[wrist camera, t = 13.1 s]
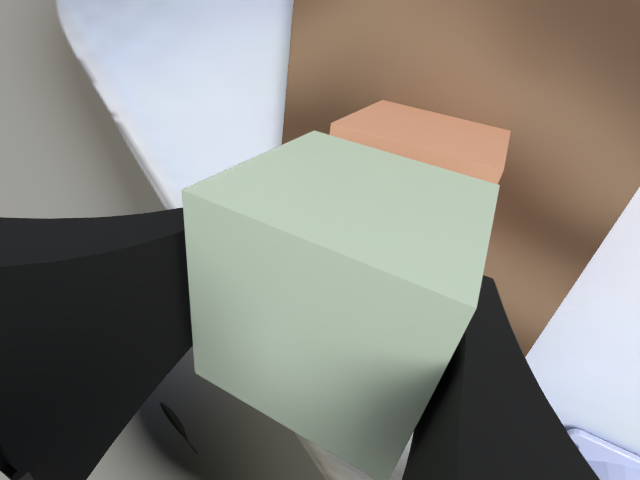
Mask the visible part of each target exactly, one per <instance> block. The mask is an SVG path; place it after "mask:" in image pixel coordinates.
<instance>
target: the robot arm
mask: <svg viewBox="0 0 640 480" xmlns="http://www.w3.org/2000/svg"><path fill="white" fill-rule="evenodd" d="M192 346H193V338H192V324H191V311H190V297H189V283H188V269H187V255H186V241H185V227H184V213H183V208H177V209H171V210H164V211H158V212H151V213H144V214H134V215H125V216H112V217H98V218H60V219H29V218H1V217H0V471H1V472H2V473H4V474H5V475H6V476H7V477H8V478H9V479H10V480H86V479H87V478H88V476H89V475H90V474H91V472H92V471H93V470H94V468H95V467H96V465H97V464H98V463H99V461H100V460H101V458H102V457H103V456H104V454H105V453H106V451H107V450H108V449H109V447H110V446H111V445H112V443H113V442H114V440H115V439H116V438H117V437H118V435H119V434H120V433H121V432H122V430H123V429H124V428H125V426H126V425H127V424H128V422H129V421H130V420H131V419H132V417H133V416H134V415H135V413H136V412H137V411H138V409H139V408H140V407H141V406H142V404H143V403H144V402H145V401H146V399H147V398H148V397H149V396H150V395H151V393H152V392H153V391H154V390H155V388H156V387H157V386H158V385H159V384H160V382H161V381H162V380H163V379H164V378H165V376H166V375H167V374H168V373H169V372H170V371H171V370H172V368H173V367H174V366H175V365H176V363H178V361H179V360H180V359H181V358H182V357H183V356H184V355H185V353H186V352H187V351H188V350H189V349H190V347H192ZM402 480H640V457H639V456H637V455H635V454H633V453H630V452H628V451H626V450H624V449H622V448H620V447H617V446H615V445H613V444H611V443H609V442H606V441H604V440H602V439H600V438H598V437H596V436H593V435H591V434H589V433H587V432H585V431H583V430H580V429H569V430H568V431H566V429H565V428H564V426H563V424H562V423H561V421H560V420H559V418H558V416H557V415H556V413H555V412H554V410H553V408H552V407H551V405H550V404H549V402H548V400H547V398H546V397H545V395H544V393H543V392H542V390H541V388H540V386H539V384H538V382H537V380H536V378H535V377H534V375H533V373H532V371H531V369H530V367H529V365H528V363H527V361H526V359H525V356H524V354H523V352H522V350H521V348H520V346H519V343H518V341H517V339H516V336H515V334H514V332H513V330H512V327H511V325H510V322H509V320H508V317H507V315H506V312H505V309H504V307H503V304H502V301H501V298H500V295H499V292H498V289H497V286H496V284H495V282H494V279H493V278H490V277H488V276H485V275H483V277H482V282H481V288H480V293H479V298H478V304H477V308H476V310H475V312H474V314H473V316H472V318H471V320H470V322H469V324H468V326H467V328H466V330H465V332H464V334H463V336H462V338H461V340H460V342H459V344H458V346H457V347H456V349H455V351H454V353H453V355H452V357H451V359H450V361H449V363H448V365H447V367H446V369H445V371H444V373H443V375H442V377H441V379H440V381H439V383H438V385H437V386H436V388H435V390H434V392H433V394H432V396H431V398H430V400H429V402H428V404H427V406H426V408H425V410H424V412H423V414H422V416H421V418H420V420H419V422H418V424H417V425H416V427H415V429H414V433H413V438H412V443H411V448H410V452H409V456H408V460H407V464H406V468H405V472H404V475H403V478H402Z"/></svg>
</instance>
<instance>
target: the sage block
mask: <svg viewBox="0 0 640 480" xmlns="http://www.w3.org/2000/svg"><path fill="white" fill-rule="evenodd" d="M499 187H500V185H498V184H494V183H491V182H488V181H484V180H481V179H477V178H474V177H471V176H467V175H464V174H460V173H457V172H454V171H450V170H447V169H443V168H440V167H437V166H433V165H430V164H426V163H423V162H420V161H416V160H413V159H409V158H406V157H403V156H399V155H396V154H392V153H389V152H386V151H382V150H379V149H376V148H372V147H369V146H365V145H362V144H359V143H355V142H352V141H348V140H345V139H342V138H338V137H335V136H331V135H328V134H325V133H321V132H318V131H312V132H310V133H307V134H305V135H303V136H301V137H299V138H296V139H294V140H292V141H290V142H287V143H285V144H283V145H281V146H278V147H276V148H274V149H272V150H270V151H267V152H265V153H263V154H261V155H258V156H256V157H254V158H252V159H249V160H247V161H245V162H243V163H241V164H238V165H236V166H234V167H232V168H229V169H227V170H225V171H223V172H220V173H218V174H216V175H214V176H212V177H209V178H207V179H205V180H203V181H200V182H198V183H196V184H194V185H191V186H189V187H187V188H185V189H183V190H182V200H183V213H184V227H185V241H186V255H187V269H188V283H189V297H190V311H191V324H192V338H193V351H194V366H195V373H196V374H198V375H200V376H201V377H203V378H205V379H206V380H208V381H210V382H211V383H213V384H215V385H217V386H218V387H220V388H221V389H223V390H225V391H227V392H228V393H230V394H232V395H233V396H235V397H237V398H238V399H240V400H242V401H243V402H245V403H247V404H249V405H250V406H252V407H254V408H255V409H257V410H259V411H261V412H262V413H264V414H265V415H267V416H269V417H271V418H272V419H274V420H276V421H277V422H279V423H281V424H282V425H284V426H286V427H287V428H289V429H291V430H293V431H294V432H296V433H298V434H299V435H301V436H303V437H304V438H306V439H308V440H309V441H311V442H313V443H314V444H316V445H318V446H320V447H321V448H323V449H325V450H326V451H328V452H330V453H331V454H333V455H335V456H336V457H338V458H340V459H342V460H343V461H345V462H347V463H348V464H350V465H352V466H353V467H355V468H357V469H358V470H360V471H362V472H363V473H365V474H367V475H369V476H370V477H372V478H374V479H375V480H389V478H390V476H391V474H392V472H393V470H394V468H395V466H396V464H397V463H398V461H399V459H400V457H401V455H402V453H403V451H404V449H405V447H406V445H407V443H408V441H409V439H410V437H411V435H412V433H413V431H414V429H415V427H416V425H417V424H418V422H419V420H420V418H421V416H422V414H423V412H424V410H425V408H426V406H427V404H428V402H429V400H430V398H431V396H432V394H433V392H434V390H435V388H436V386H437V385H438V383H439V381H440V379H441V377H442V375H443V373H444V371H445V369H446V367H447V365H448V363H449V361H450V359H451V357H452V355H453V353H454V351H455V349H456V347H457V346H458V344H459V342H460V340H461V338H462V336H463V334H464V332H465V330H466V328H467V326H468V324H469V322H470V320H471V318H472V316H473V314H474V312H475V310H476V308H477V304H478V298H479V293H480V288H481V282H482V277H483V272H484V266H485V261H486V256H487V251H488V245H489V240H490V235H491V229H492V224H493V219H494V213H495V208H496V203H497V197H498V192H499Z"/></svg>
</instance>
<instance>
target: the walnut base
mask: <svg viewBox="0 0 640 480" xmlns="http://www.w3.org/2000/svg"><path fill="white" fill-rule="evenodd" d="M381 100H385V101H389V102H393V103H397V104H402V105H406V106H410V107H414V108H418V109H422V110H427V111H431V112H435V113H439V114H443V115H447V116H452V117H456V118H460V119H464V120H468V121H472V122H477V123H481V124H485V125H489V126H493V127H497V128H501V129H506V130H510V131H511V132H510V138H509V144H508V149H507V155H506V161H505V166H504V171H503V173H502V176H501V178H500V180H499V183H498V185H500V187H499V192H498V197H497V203H496V208H495V213H494V219H493V224H492V229H491V235H490V240H489V245H488V251H487V256H486V261H485V266H484V272H483V275H485V276H488V277H490V278H493V279H494V282H495V284H496V286H497V289H498V292H499V295H500V298H501V301H502V304H503V307H504V309H505V312H506V315H507V317H508V320H509V322H510V325H511V327H512V330H513V332H514V334H515V336H516V339H517V341H518V343H519V346H520V348H521V350H522V352H523V354H524V356H525V357H526V355H527V354H528V352H529V351H530V349H531V348H532V346H533V345H534V343H535V342H536V340H537V339H538V337H539V336H540V334H541V333H542V331H543V330H544V328H545V327H546V325H547V324H548V322H549V321H550V319H551V318H552V316H553V315H554V313H555V312H556V310H557V309H558V307H559V306H560V304H561V303H562V301H563V300H564V298H565V297H566V295H567V294H568V293H569V291H570V290H571V288H572V287H573V285H574V284H575V282H576V281H577V279H578V278H579V276H580V275H581V273H582V272H583V270H584V269H585V267H586V266H587V264H588V263H589V261H590V260H591V258H592V257H593V255H594V254H595V252H596V251H597V249H598V248H599V246H600V245H601V243H602V242H603V240H604V239H605V237H606V236H607V234H608V233H609V231H610V230H611V228H612V227H613V225H614V224H615V222H616V221H617V219H618V218H619V217H620V215H621V214H622V212H623V211H624V209H625V208H626V206H627V205H628V203H629V202H630V200H631V199H632V197H633V196H634V194H635V193H636V191H637V190H638V188H639V187H640V0H294V4H293V16H292V28H291V41H290V53H289V65H288V77H287V89H286V101H285V113H284V125H283V137H282V145H283V144H285V143H287V142H290V141H292V140H294V139H296V138H299V137H301V136H303V135H305V134H307V133H310V132H312V131H318V132H321V133H325V134H328V135H329V134H330V127H331V123H332V122H334V121H337V120H339V119H341V118H343V117H346V116H348V115H350V114H352V113H354V112H357V111H359V110H361V109H363V108H366V107H368V106H370V105H372V104H374V103H377V102H379V101H381Z"/></svg>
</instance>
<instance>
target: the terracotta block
mask: <svg viewBox="0 0 640 480" xmlns="http://www.w3.org/2000/svg"><path fill="white" fill-rule="evenodd" d="M510 132H511V131H510V130H506V129H501V128H497V127H493V126H489V125H485V124H481V123H477V122H472V121H468V120H464V119H460V118H456V117H452V116H447V115H443V114H439V113H435V112H431V111H427V110H422V109H418V108H414V107H410V106H406V105H402V104H397V103H393V102H389V101H385V100H381V101H379V102H377V103H374V104H372V105H370V106H368V107H366V108H363V109H361V110H359V111H357V112H354V113H352V114H350V115H348V116H346V117H343V118H341V119H339V120H337V121H334V122H332V123H331V127H330V134H329V135H331V136H335V137H338V138H342V139H345V140H348V141H352V142H355V143H359V144H362V145H365V146H369V147H372V148H376V149H379V150H382V151H386V152H389V153H392V154H396V155H399V156H403V157H406V158H409V159H413V160H416V161H420V162H423V163H426V164H430V165H433V166H437V167H440V168H443V169H447V170H450V171H454V172H457V173H460V174H464V175H467V176H471V177H474V178H477V179H481V180H484V181H488V182H491V183H494V184H498V183H499V180H500V178H501V176H502V173H503V171H504V166H505V161H506V155H507V149H508V144H509V138H510Z"/></svg>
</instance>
